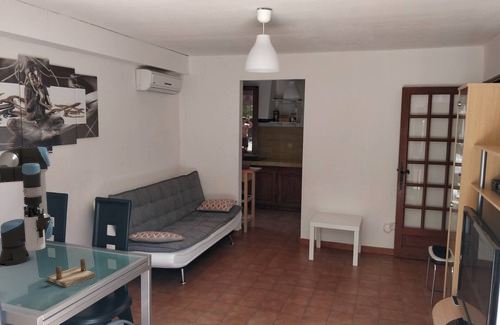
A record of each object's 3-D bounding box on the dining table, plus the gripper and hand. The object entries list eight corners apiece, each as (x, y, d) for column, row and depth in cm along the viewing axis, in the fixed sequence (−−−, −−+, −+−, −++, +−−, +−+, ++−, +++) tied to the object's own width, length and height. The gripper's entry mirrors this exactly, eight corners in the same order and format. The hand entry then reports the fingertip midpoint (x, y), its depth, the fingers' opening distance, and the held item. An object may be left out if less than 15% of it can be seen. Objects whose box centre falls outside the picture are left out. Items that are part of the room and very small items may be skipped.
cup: (32, 251, 191) (30, 218, 190) (22, 248, 196) (20, 216, 194) (48, 247, 198) (46, 214, 197) (39, 244, 203) (37, 212, 201)
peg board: (47, 280, 204) (46, 264, 204) (76, 270, 218) (75, 256, 217) (66, 287, 196) (65, 271, 195) (95, 276, 209) (94, 261, 208)
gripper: (13, 194, 197) (16, 240, 200) (36, 199, 185) (39, 248, 188) (29, 192, 203) (31, 237, 206) (52, 196, 192) (55, 244, 194)
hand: (35, 242), depth 197 cm, fingers closed on cup, 8 cm apart
